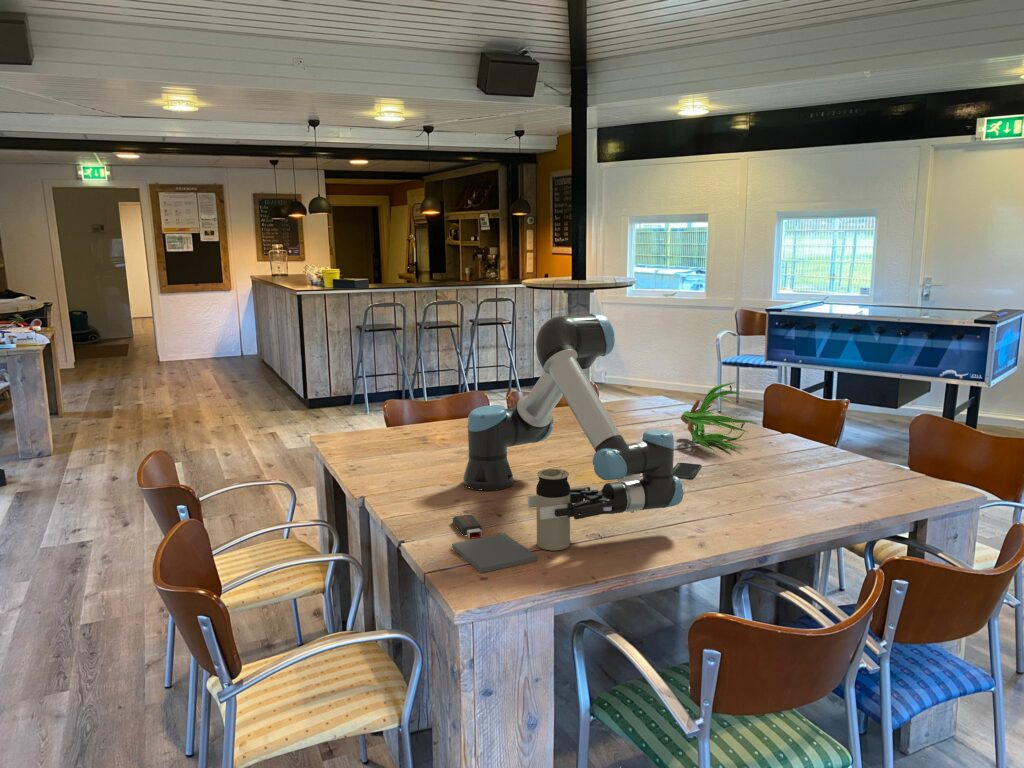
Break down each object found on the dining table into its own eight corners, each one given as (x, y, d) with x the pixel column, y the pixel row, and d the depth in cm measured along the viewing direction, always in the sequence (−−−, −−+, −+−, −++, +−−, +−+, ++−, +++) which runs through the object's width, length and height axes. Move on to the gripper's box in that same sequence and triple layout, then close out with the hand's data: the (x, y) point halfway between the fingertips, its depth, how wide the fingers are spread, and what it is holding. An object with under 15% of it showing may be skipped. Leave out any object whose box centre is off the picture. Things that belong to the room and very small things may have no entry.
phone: (667, 474, 235) (678, 462, 249) (667, 477, 235) (678, 465, 249) (693, 477, 232) (702, 464, 245) (693, 480, 232) (702, 467, 246)
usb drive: (471, 522, 199) (471, 512, 199) (485, 538, 188) (485, 527, 187) (452, 524, 197) (452, 514, 197) (465, 540, 186) (465, 530, 186)
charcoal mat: (452, 548, 180) (452, 543, 180) (504, 537, 187) (504, 533, 186) (481, 573, 166) (481, 567, 166) (536, 560, 173) (536, 555, 172)
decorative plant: (697, 447, 291) (764, 460, 267) (652, 444, 276) (719, 458, 252) (706, 380, 291) (774, 387, 267) (662, 373, 276) (729, 381, 252)
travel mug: (532, 549, 179) (531, 476, 176) (542, 537, 186) (542, 467, 183) (564, 553, 176) (564, 479, 173) (573, 541, 184) (574, 469, 181)
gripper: (641, 525, 176) (549, 538, 169) (604, 498, 196) (520, 508, 189) (642, 495, 175) (549, 506, 168) (604, 470, 194) (520, 479, 187)
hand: (534, 507), depth 178 cm, fingers closed on travel mug, 8 cm apart
